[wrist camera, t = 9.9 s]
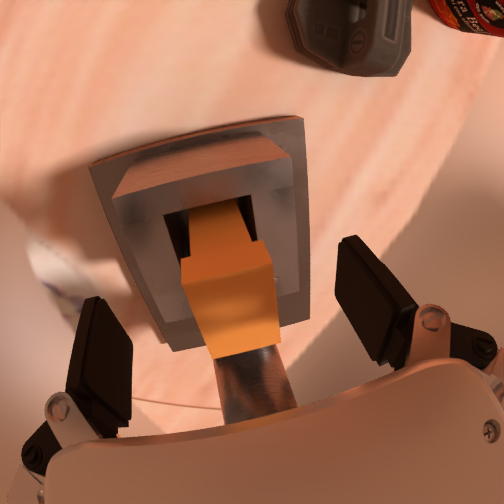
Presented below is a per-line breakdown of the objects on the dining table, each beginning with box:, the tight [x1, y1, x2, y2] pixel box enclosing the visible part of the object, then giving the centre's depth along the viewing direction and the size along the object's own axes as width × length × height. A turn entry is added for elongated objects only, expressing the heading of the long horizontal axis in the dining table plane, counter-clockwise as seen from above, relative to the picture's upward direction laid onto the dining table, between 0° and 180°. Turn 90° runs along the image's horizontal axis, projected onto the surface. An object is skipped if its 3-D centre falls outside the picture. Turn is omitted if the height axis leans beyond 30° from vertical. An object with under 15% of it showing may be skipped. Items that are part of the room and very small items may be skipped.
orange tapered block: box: [181, 198, 281, 359], centre depth 15 cm, size 4×3×10 cm
